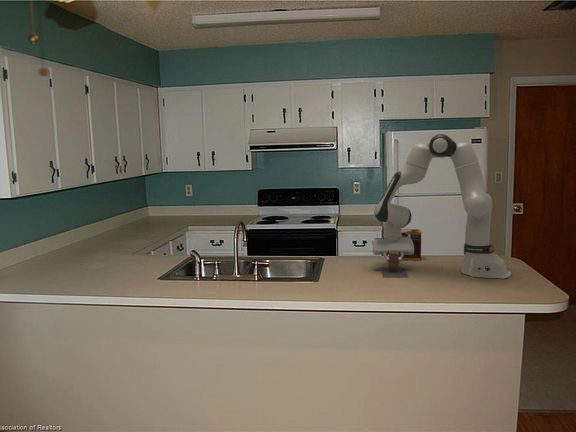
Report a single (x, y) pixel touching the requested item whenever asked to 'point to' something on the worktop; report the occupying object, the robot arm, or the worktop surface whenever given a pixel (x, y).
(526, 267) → the worktop surface
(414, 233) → the supplement box
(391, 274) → the rubber mat
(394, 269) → the walnut block
